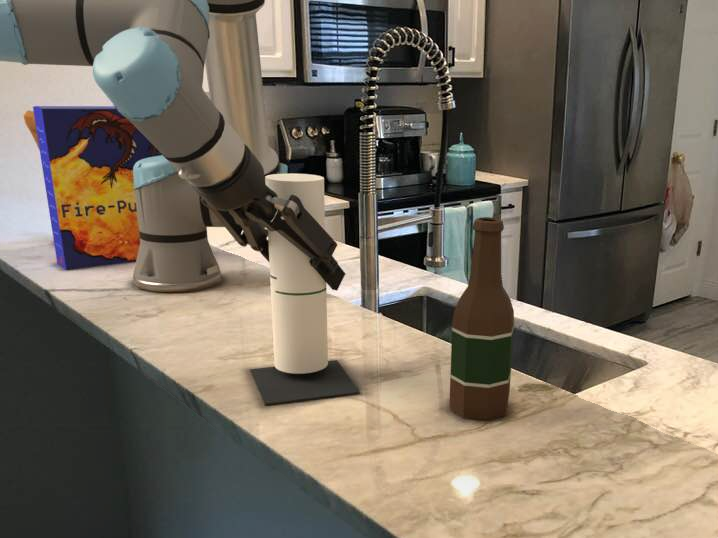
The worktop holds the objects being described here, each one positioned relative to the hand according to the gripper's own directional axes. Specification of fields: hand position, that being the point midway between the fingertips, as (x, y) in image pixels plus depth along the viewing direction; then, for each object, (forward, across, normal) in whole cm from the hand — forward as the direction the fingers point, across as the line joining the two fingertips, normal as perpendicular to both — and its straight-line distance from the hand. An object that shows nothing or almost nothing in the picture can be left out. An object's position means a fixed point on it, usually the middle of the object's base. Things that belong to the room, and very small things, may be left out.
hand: (315, 276), depth 103 cm
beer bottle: (+9, +26, -10) cm, 29 cm away
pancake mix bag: (+27, -87, +9) cm, 92 cm away
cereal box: (+26, -70, +8) cm, 75 cm away
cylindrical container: (+6, 0, -11) cm, 12 cm away
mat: (+5, +2, -13) cm, 14 cm away
